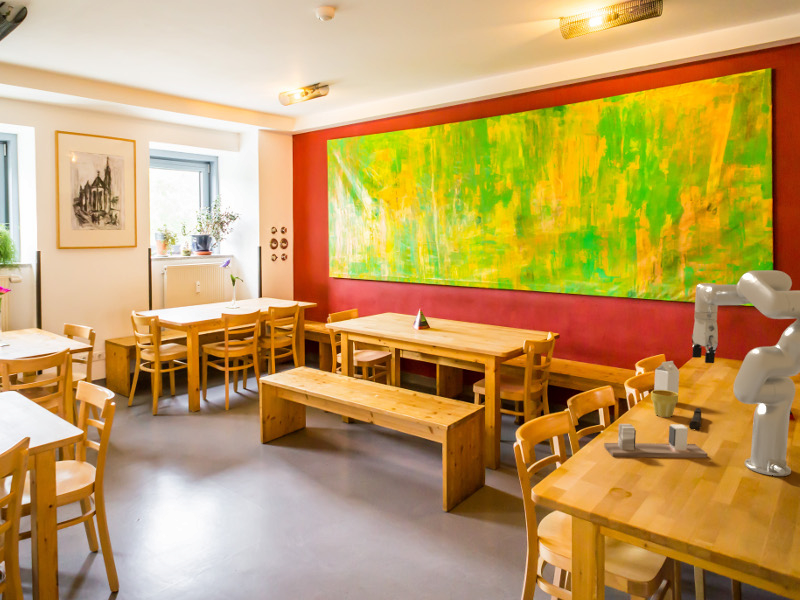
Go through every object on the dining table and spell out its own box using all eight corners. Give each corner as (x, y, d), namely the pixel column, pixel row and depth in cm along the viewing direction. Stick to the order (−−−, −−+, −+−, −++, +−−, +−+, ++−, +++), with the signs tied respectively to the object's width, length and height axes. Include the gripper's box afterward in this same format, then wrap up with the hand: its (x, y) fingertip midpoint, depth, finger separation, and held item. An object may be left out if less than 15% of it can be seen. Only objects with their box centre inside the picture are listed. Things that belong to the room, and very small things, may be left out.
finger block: (686, 450, 194) (687, 428, 193) (673, 450, 194) (674, 428, 193) (680, 446, 198) (682, 424, 197) (668, 446, 198) (669, 424, 197)
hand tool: (700, 431, 218) (700, 420, 217) (688, 429, 220) (689, 418, 219) (705, 418, 233) (706, 408, 233) (695, 417, 235) (695, 406, 235)
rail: (707, 457, 191) (708, 431, 190) (612, 456, 192) (613, 430, 191) (694, 448, 200) (695, 422, 199) (604, 446, 201) (605, 421, 200)
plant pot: (656, 409, 244) (657, 388, 243) (681, 415, 237) (682, 393, 236) (645, 414, 238) (646, 392, 236) (670, 420, 230) (672, 397, 229)
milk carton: (653, 401, 257) (655, 360, 255) (664, 399, 260) (666, 359, 258) (666, 405, 251) (668, 363, 249) (677, 403, 254) (679, 362, 252)
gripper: (728, 319, 203) (725, 365, 205) (704, 313, 220) (701, 355, 222) (707, 319, 204) (704, 365, 205) (684, 312, 221) (682, 355, 223)
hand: (703, 360), depth 214 cm, fingers open, 9 cm apart
